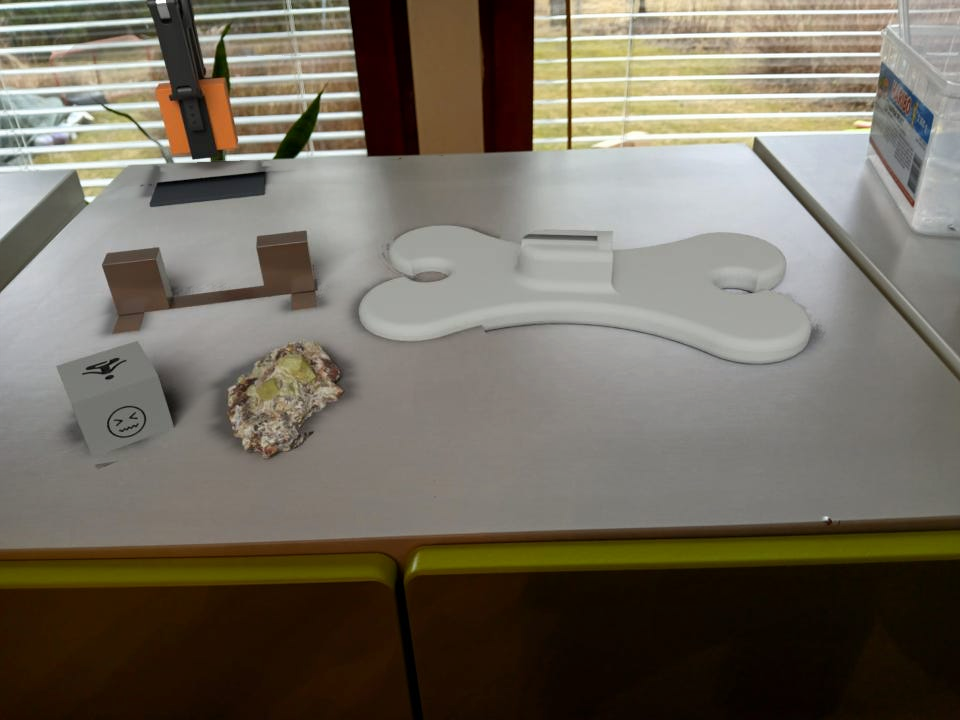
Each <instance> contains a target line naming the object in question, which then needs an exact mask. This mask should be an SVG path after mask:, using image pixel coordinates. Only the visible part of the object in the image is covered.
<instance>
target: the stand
mask: <svg viewBox="0 0 960 720" xmlns="http://www.w3.org/2000/svg"><path fill="white" fill-rule="evenodd" d="M255 243H256V244H255V248H256V252H257V258H258V263H259V266H260V267H259V268H260V273H261V278H262V282H263V285H257V286H249V287H240V288H233V289H232V288H231V289H226V290H225V289H224V290H217V291H209V292H208V291H207V292H199V293H192V294H184V295H177V296H174V295H173V291H172V287H171V284H170V280H169V277H168V273H167V271H166V267H165V263H164V259H163V256H162V252H161V248H160V247H158V246H157V247H149V248H139V249H131V250H123V251H114V252H106V254H105V256H104V258H103V261H102V263H101V268H102V270H103V274H104V276H105V281H106V282H107V286H108V289H109V291H110V292H109V293H110V294H111V298H112V300H113V303H114V306H115V310H116V314H115V316H116V317H117V319H116V322H115V325H114V327H113V330H112V333H111V334H112V335H120V334H127V333H128V334H129V333H136V332H140V329H141V326H142V323H143V319H144V316H145V314H147V313H154V312H155V313H156V312H163V311H170V310H179V309H186V308H187V309H188V308H194V307H202V306H210V305H211V306H212V305H217V304H227V303H233V302H241V301H249V300H257V299H258V300H259V299H265V298H266V299H267V298H273V297H274V298H275V297H281V296H282V297H283V296H289V295H291V296H290V299H291V301H290V302H291V303H290V304H291V312H297V311H298V312H299V311H305V310H314V309H317V308H318V306H317V292H318V291H319V286H318V279H317V278H316V277H315V265H314V264H313V261H312V255H311V249H310V244H309V237H308V231H307V230H298V231H290V232H281V233H272V234H271V233H270V234H264V235H257V236H256V241H255Z"/></svg>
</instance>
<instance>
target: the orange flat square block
mask: <svg viewBox="0 0 960 720" xmlns="http://www.w3.org/2000/svg"><path fill="white" fill-rule="evenodd" d="M199 83H200V88H201V89H202V92H203V95H202V96H204V95H205V100H206V104H207V108H208V113H209V117H210V122H211V126H212V130H213V135H214V139H215V144H216V148H217V151H222V150H231V149H238V145H239V137H238V133H237V128H236V127H237V126H236V122H235V117H234V112H233V108H232V104H231V99H230V94H229V90H228V89H229V88H228V85H227V79H226V77H215V78H212V79H203V80H199ZM171 90H172V89H171V85H170V82H161V83H158V85H157V87H156V88H155V90H154V91H155V94H156V99H157V101H158V106H159V110H160V113H161V118H162V121H163V124H164V130H165V133H166V137H167V141H168V144H169V148H170V152H171V155H173V156H174V155H183V154H191V152H190V148H189V144H188V140H187V136H186V132H185V128H184V124H183V120H182V115H181V111H180V107H179V103H178V100H176V101H170V99H169V95H170V94H172V92H171Z"/></svg>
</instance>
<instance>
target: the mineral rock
mask: <svg viewBox="0 0 960 720" xmlns="http://www.w3.org/2000/svg"><path fill="white" fill-rule="evenodd" d="M340 378H341V372H340V369H339V368H338V366H337V365H336V363H335V361H334V359H331V358H330V356H329V355H328V354H327V353H326V352H325V350H323V348H322V347H321V346H320V345H319V343H317V341H314V340H304V339H301V340H300V341H299V342H296V341H289V342H287V344H286V345H284V346H279V347H276V348H271V350H270V353H268V354H266V355H264V356H263V357H260V358H259V359H258V360H257V361H256V362H255V363H254V364H253V369H252V371H251V373H250V374H248V375H247V374H246V375H245V373H244V374H241V375H240V376H239V377H237V379H236V383H235V384H234V385H230V386H229V387H228V388H226V390H227V391H228V394H227V400H228V401H227V407H229V409H228V411H227V413H226V414H227V418H228V419H229V420H230V422H231V426H230V427H231V428H232V431H234V432H233V433H232V435H233V437H237V438H241V440H242V442H241V444H242V447H244V451H245V452H249V453H250V454H251V453H255V452H259V453H260V454H261V457H262V458H263V459H264V460H268V459H270V458H272V457H273V456H274V455H275V454H277V453H278V452H289V451H292V450H293V449H295V448H296V447H299V446H301V445H302V444H304V443H303V442H304V441H305V439H307V438H309V437H311V435H312V434H314V430H312V431H306V432H299V431H300V428H301V426H303V423H304V422H305V420H307V419H308V418H309V417H312V415H313V413H317V412H321V411H322V410H323V409H325V407H326V406H327V403H331V402H338V401H340V400H341V399H342V394H343V393H344V390H343V388H341V387H339V386H338V385H337V384H336V382H337V381H338V380H340Z"/></svg>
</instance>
